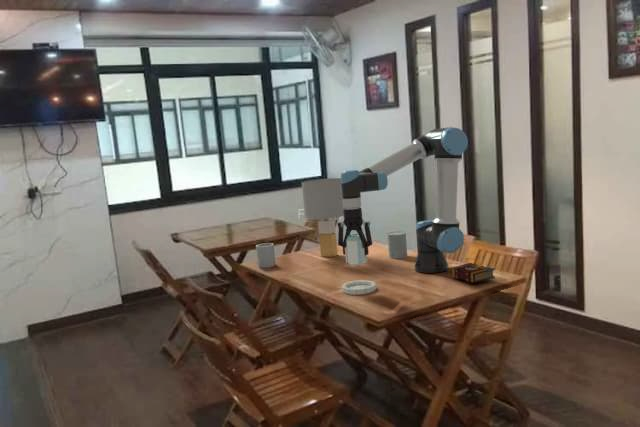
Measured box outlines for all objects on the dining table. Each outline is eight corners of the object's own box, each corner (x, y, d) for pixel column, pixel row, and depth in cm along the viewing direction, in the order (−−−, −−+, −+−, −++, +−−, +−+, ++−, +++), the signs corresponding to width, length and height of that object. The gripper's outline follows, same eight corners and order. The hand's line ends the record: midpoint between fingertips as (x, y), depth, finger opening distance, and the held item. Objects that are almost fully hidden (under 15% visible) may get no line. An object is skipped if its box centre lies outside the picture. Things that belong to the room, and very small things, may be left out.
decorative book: (474, 284, 228) (473, 272, 227) (448, 276, 242) (448, 265, 242) (495, 278, 233) (494, 267, 232) (469, 272, 247) (468, 261, 247)
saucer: (380, 285, 237) (379, 280, 236) (368, 295, 224) (368, 290, 224) (349, 284, 243) (349, 279, 242) (337, 294, 230) (336, 288, 230)
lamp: (357, 252, 306) (351, 177, 300) (336, 262, 287) (329, 182, 281) (322, 251, 318) (316, 179, 312) (300, 260, 299) (293, 183, 293)
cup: (277, 267, 288) (275, 244, 286) (261, 270, 285) (258, 247, 283) (272, 264, 296) (270, 242, 295) (256, 267, 293) (254, 244, 292)
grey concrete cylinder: (386, 256, 292) (384, 233, 290) (402, 253, 295) (400, 230, 293) (393, 259, 283) (392, 235, 281) (410, 256, 285) (409, 233, 284)
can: (345, 263, 234) (343, 235, 232) (360, 260, 236) (358, 233, 235) (352, 266, 227) (350, 237, 226) (367, 263, 230) (365, 235, 228)
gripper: (378, 206, 228) (382, 260, 231) (333, 207, 236) (338, 259, 240) (372, 208, 221) (376, 265, 224) (326, 209, 230) (331, 263, 233)
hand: (356, 262), depth 232 cm, fingers closed on can, 7 cm apart
